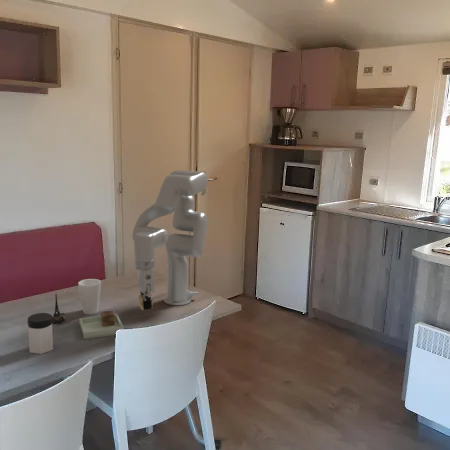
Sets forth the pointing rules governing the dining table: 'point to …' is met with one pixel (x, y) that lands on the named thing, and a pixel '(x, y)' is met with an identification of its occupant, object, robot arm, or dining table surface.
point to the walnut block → (107, 318)
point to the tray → (98, 327)
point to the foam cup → (89, 295)
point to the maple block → (141, 298)
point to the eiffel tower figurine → (57, 315)
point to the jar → (40, 333)
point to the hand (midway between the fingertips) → (146, 306)
